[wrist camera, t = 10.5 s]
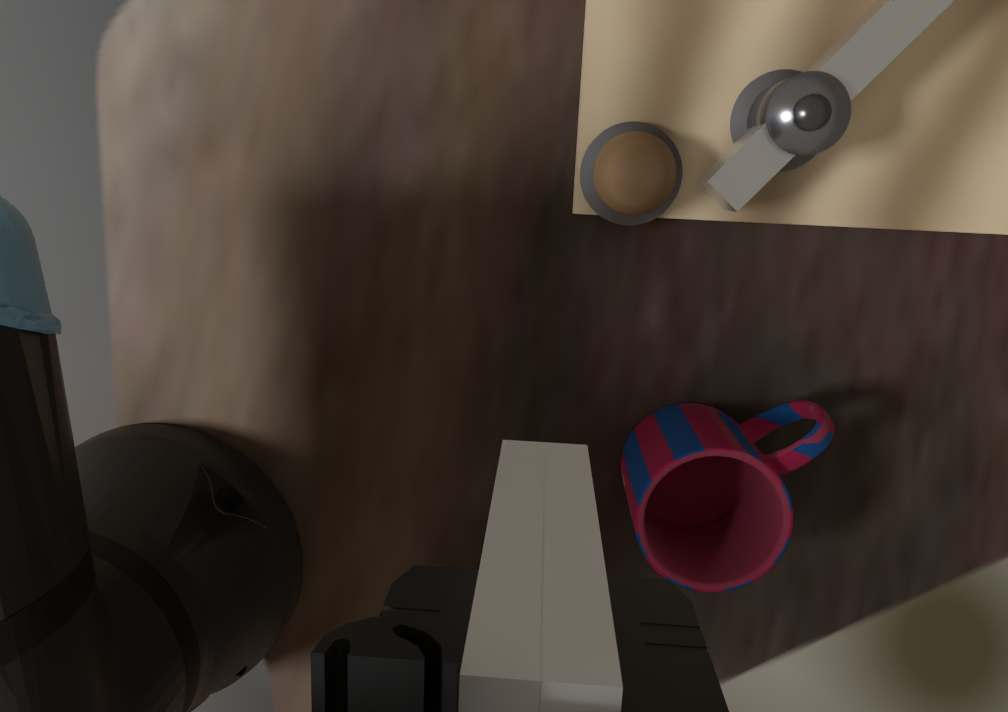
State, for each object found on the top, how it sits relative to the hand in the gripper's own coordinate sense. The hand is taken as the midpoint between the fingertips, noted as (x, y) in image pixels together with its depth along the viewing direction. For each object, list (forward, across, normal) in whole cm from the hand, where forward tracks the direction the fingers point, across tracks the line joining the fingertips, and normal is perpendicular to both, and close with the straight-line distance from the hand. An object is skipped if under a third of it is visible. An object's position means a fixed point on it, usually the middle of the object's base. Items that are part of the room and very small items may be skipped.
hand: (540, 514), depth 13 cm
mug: (+25, +9, -7) cm, 27 cm away
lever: (+23, +12, +12) cm, 28 cm away
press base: (+24, +11, +12) cm, 30 cm away
